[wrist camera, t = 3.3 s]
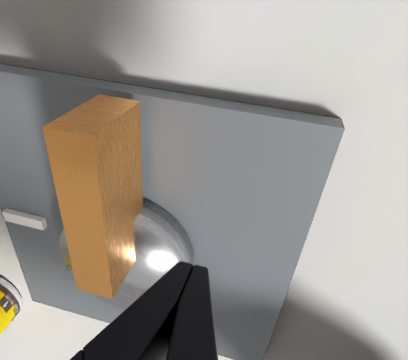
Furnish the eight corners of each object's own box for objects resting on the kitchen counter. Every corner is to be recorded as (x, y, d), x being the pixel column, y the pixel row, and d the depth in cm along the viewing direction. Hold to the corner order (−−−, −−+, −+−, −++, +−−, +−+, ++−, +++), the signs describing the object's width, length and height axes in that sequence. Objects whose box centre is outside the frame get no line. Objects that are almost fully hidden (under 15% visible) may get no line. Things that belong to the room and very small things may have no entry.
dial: (190, 299, 22) (167, 367, 18) (85, 271, 23) (44, 329, 19) (207, 106, 14) (175, 152, 10) (51, 80, 16) (-30, 113, 12)
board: (341, 118, 14) (345, 132, 13) (262, 352, 25) (260, 372, 24) (-30, 58, 18) (-57, 64, 16) (41, 289, 29) (29, 304, 27)
